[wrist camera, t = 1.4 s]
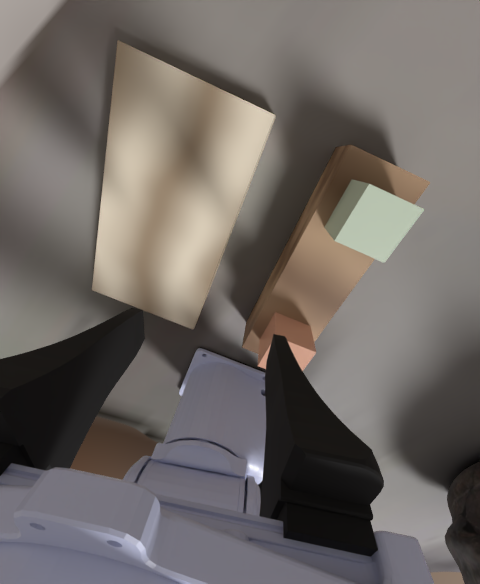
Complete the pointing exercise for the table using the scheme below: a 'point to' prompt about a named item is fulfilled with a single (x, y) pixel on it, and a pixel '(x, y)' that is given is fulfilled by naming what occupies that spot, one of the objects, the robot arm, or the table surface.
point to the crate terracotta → (288, 339)
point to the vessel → (465, 523)
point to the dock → (171, 185)
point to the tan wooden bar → (324, 247)
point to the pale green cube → (371, 220)
